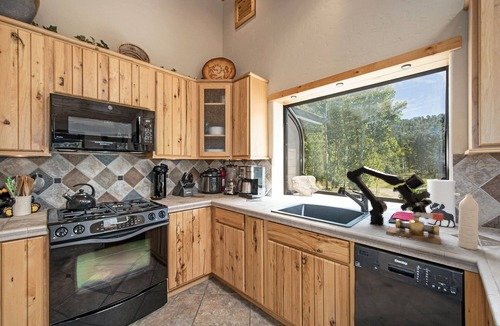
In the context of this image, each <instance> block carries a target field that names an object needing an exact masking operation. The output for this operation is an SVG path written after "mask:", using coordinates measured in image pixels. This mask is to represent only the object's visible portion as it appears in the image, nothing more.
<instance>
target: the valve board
mask: <svg viewBox="0 0 500 326" xmlns="http://www.w3.org/2000/svg"><path fill="white" fill-rule="evenodd" d="M385 234H386V235H389V236H394V235H395V236H394V237H399V236H401V238H404V237H406V239H409V238H411V239H410V240H415V239H416V240H415V241H420V240H421V242H425V241H426V243H430V242H431V243H430V244H434V245H442V244H441V242H442V241H441V236H440V234H439V235H434V238H430V237H428V232H424V236H416V235H412V234H410V233H409V229H406V228H405V233H403V232H399V228H396V226H391V225H389V226H388V227H387V228H386V231H385Z"/></svg>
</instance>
